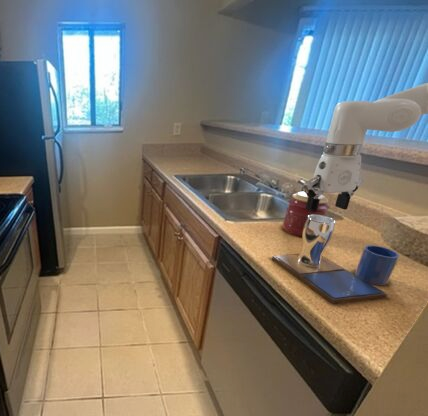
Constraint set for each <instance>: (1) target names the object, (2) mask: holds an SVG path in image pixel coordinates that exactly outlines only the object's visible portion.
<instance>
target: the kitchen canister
mask: <svg viewBox="0 0 428 416" xmlns="http://www.w3.org/2000/svg"><path fill="white" fill-rule="evenodd" d="M316 193H317V191H316V192H315V194H316ZM318 199H320V201H319V205H318V209H317V212H312V211H309V210H307V209H306V204H307V200H308V196H307V194H306V193H305V191H298V192H296V193H293V194H292V196H291V198H290V199H289V198H288V206H287V207H286V211H285V215H284V220H283V222H282V229H283V230H284V231H285V232H287V233H288V234H291V235H293V236H296V237H301V238H302V235H303V229H304V226H305V223H306V220H307V218H308V216H309V215H323V216H327V217H328V214H327V211H328V210H329V209H330V208H331V207H330V205H329V204H328V203H329V201H330V200H329V198H327V197H326V196H325V195H323V194H322V195H321V196H320V197H319V198H318Z"/></svg>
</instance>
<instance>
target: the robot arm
mask: <svg viewBox="0 0 428 416" xmlns="http://www.w3.org/2000/svg"><path fill="white" fill-rule="evenodd" d="M423 115H428V82H426V83H423V84H420V85H415V86H413V87H410V88H407V89H405V90H402V91H398V92H396V93H393V94H390V95H387V96H385V97H382V98H380V99H377V100H375V101H370V100H345V101H341V102H338V103H337V104H336V105H335V106H334V110H333V114H332V117H331V121H330V124H329V129H328V133H327V137H326V141H325V146H324V147H323V148H322V151H323V153H322V155H321V156H320V158H319V160H318V162H317V165H316V168H315V171H314V174H313V177H312V178H311V179H309V180H307V181H305V182H304V183H303V189H304V192H305V193H306V194H307V196H308V200H307V204H306V209H307V210H309V211H312V212H317V209H318V205H319V201H320V199H318V198H319V197H320V196H321V195H323V194H324V193H325V194H336V193H337V198H336V201H335V205H334V206H335V207H336V208H338V209H342V210H348V208H349V204H350V201H351V197H353V196H354V195H355V192H356V191H357V190H358V189H359V187H360V185H361V184H362V183H363V179H362V178H360V173H361V167H362V155H361V151H362V149H363V145H364V141H365V137H366V135H367V131H379V132H387V133H394V132H400V131H405V130H406V129H410V128H411V127H413V126H414V125H415V124H416V123H417V122H418V121H419V120H420V118H421V116H423ZM315 192H316V194H315Z"/></svg>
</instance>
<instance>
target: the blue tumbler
mask: <svg viewBox="0 0 428 416" xmlns="http://www.w3.org/2000/svg"><path fill="white" fill-rule="evenodd" d="M399 258H400V255H399V253H398V252H396V251H394V250H392V249H391V248H387V247H384V246H379V245H371V244H370V245H369V244H368V245H365V246H364V247H363V250H362V253H361V255H360V258H359V260H358V263H357V266H356V269H355V272H354V275H356V276H358V277H359V278H361V279H363V280H364V281H366V282H368V283H369V284H371V285H375V286H386V285H387V284H388V283H389V282H390V280H391V276H392V275H393V272H394V270H395V268H396V266H397V262H398V260H399Z"/></svg>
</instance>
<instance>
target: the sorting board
mask: <svg viewBox="0 0 428 416" xmlns="http://www.w3.org/2000/svg"><path fill="white" fill-rule="evenodd" d="M299 254H300V253H290V254H279V255H272V257H271V260H272V261H274V263H276V264H278V265H279V266H280V267H282V268H283V269H284V270H285V271H287V272H288V273H290V274H291V275H293V276H294V277H295V278H297V279H298V280H299V281H301V282H302V283H304V284H305V285H306V286H307V287H309V288H310V289H312V290H313V291H314V292H316V293H317V294H318V295H320V296H321V297H322V298H324V299H325V300H326V301H328V302H329V303H330V304H332V305H334V304H342V303H350V302H351V303H353V302H358V301H359V302H360V301H367V300H376V299H384V298H387V296H388V293H386V292H385V291H383V290H381V289H380V288H378V287H376V285H375V286H374V284H371V283H368V282H366V281H364V280H363V279H361V278H359V277H358V276H356V275H355V273H352V272H351V271H349V270H347V269H346V268H344V267H342V266H340V265H338V264H337V263H335V262H334V261H332V260H330V259H329V258H327V257H325V256H324V255H322V257H321V266H320V267H309V266H305V265H303V264H301V263H299V262H298V260H297V258H298V256H299Z"/></svg>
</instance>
